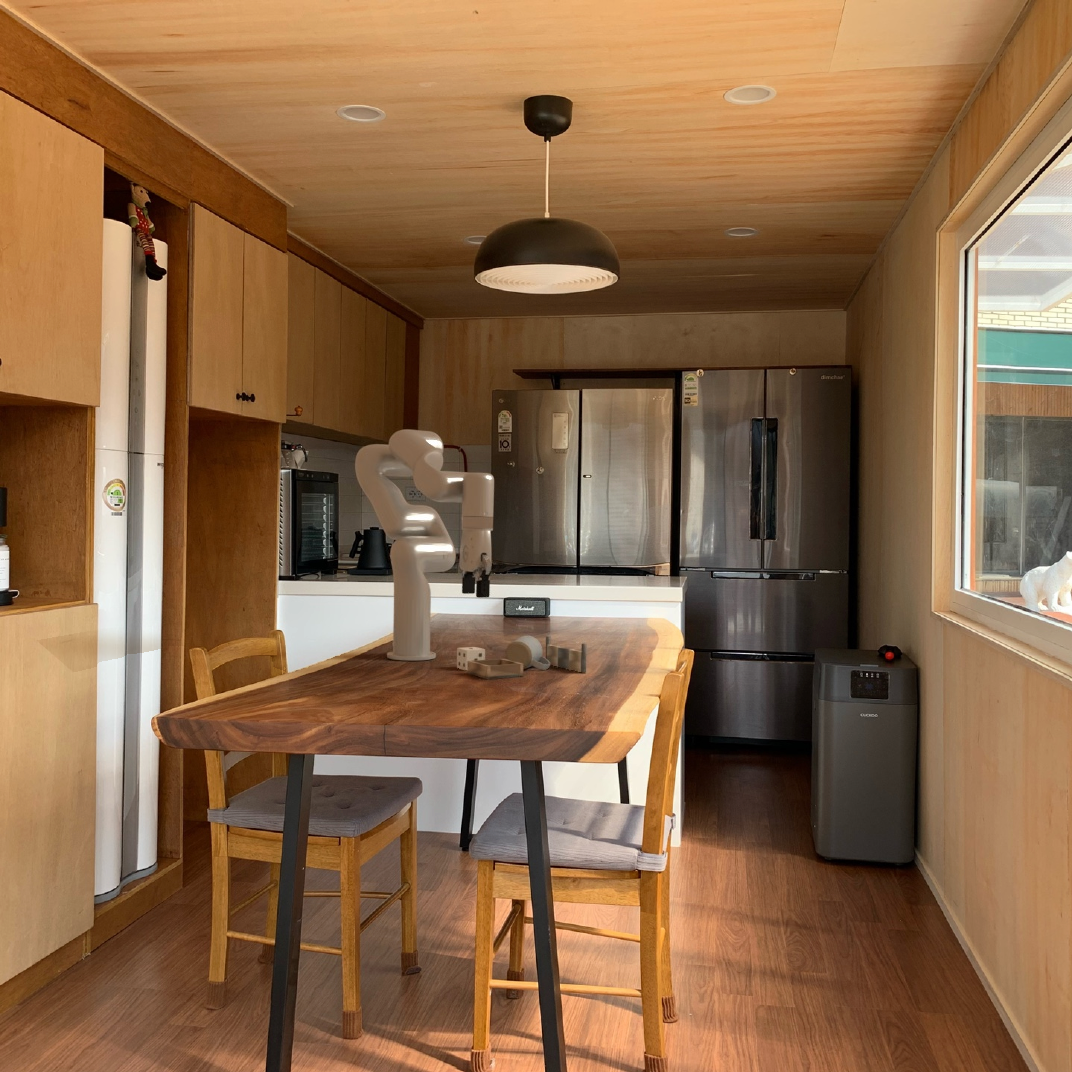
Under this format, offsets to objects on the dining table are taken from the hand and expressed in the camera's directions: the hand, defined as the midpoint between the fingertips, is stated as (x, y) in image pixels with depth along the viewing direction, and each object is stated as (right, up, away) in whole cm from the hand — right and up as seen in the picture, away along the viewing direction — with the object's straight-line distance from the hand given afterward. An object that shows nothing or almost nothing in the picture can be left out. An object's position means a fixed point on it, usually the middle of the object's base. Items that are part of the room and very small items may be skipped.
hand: (475, 595), depth 251 cm
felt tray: (+5, -18, -6) cm, 20 cm away
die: (-1, -18, +4) cm, 19 cm away
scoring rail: (+22, -18, +6) cm, 29 cm away
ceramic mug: (+13, -19, +6) cm, 23 cm away
